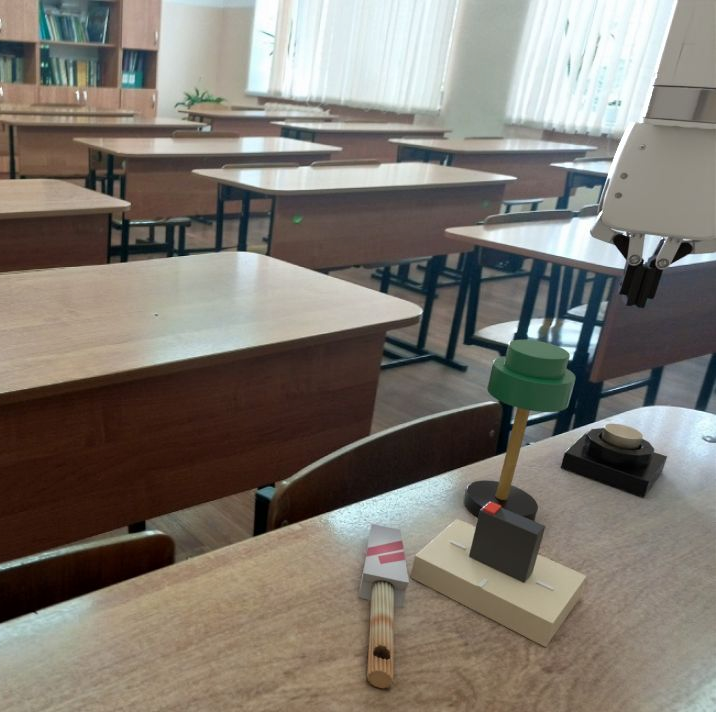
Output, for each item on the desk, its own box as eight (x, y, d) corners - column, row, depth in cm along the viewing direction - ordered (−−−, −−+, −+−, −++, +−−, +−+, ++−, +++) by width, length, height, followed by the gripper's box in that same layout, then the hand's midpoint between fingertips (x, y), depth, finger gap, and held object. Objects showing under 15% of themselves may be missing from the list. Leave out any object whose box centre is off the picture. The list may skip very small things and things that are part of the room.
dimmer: (580, 598, 66) (587, 573, 65) (545, 648, 60) (552, 622, 59) (452, 539, 74) (457, 516, 73) (409, 578, 68) (414, 554, 67)
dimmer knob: (532, 573, 65) (546, 523, 63) (524, 583, 64) (538, 532, 62) (477, 547, 68) (489, 499, 66) (468, 556, 67) (480, 507, 65)
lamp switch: (662, 472, 90) (671, 443, 88) (643, 498, 83) (653, 467, 82) (583, 445, 95) (590, 417, 94) (560, 467, 89) (568, 438, 88)
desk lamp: (547, 511, 80) (591, 351, 73) (521, 538, 75) (566, 369, 68) (478, 483, 85) (514, 331, 78) (449, 507, 80) (485, 346, 73)
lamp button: (642, 444, 88) (646, 431, 88) (633, 455, 85) (637, 441, 85) (605, 433, 91) (609, 420, 90) (596, 442, 88) (600, 429, 87)
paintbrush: (409, 518, 71) (408, 672, 54) (404, 541, 72) (401, 699, 55) (368, 510, 72) (354, 658, 55) (364, 532, 73) (349, 685, 56)
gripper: (778, 116, 67) (711, 307, 74) (595, 103, 72) (548, 283, 79) (807, 118, 60) (731, 328, 67) (603, 104, 66) (551, 299, 72)
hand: (632, 303), depth 73 cm, fingers closed
